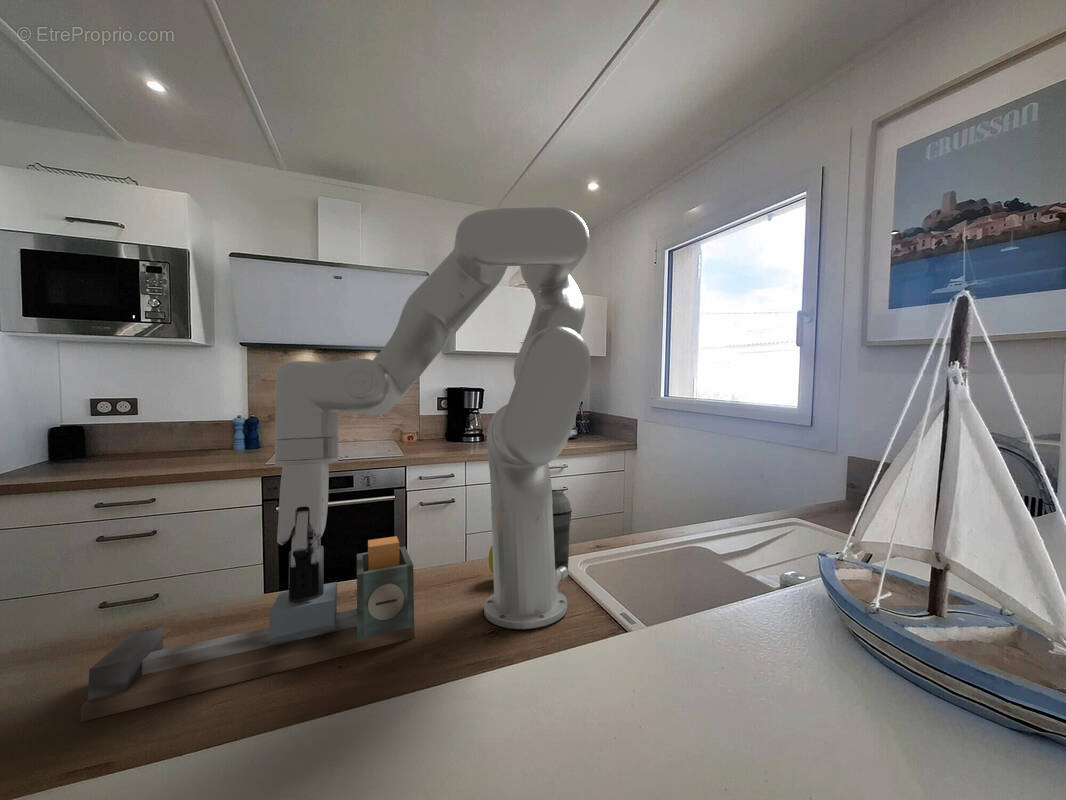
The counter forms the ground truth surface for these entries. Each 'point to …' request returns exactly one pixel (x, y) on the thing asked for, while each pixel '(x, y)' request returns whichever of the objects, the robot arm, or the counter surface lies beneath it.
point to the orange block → (383, 553)
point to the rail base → (235, 670)
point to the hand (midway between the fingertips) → (306, 588)
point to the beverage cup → (561, 528)
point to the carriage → (304, 609)
